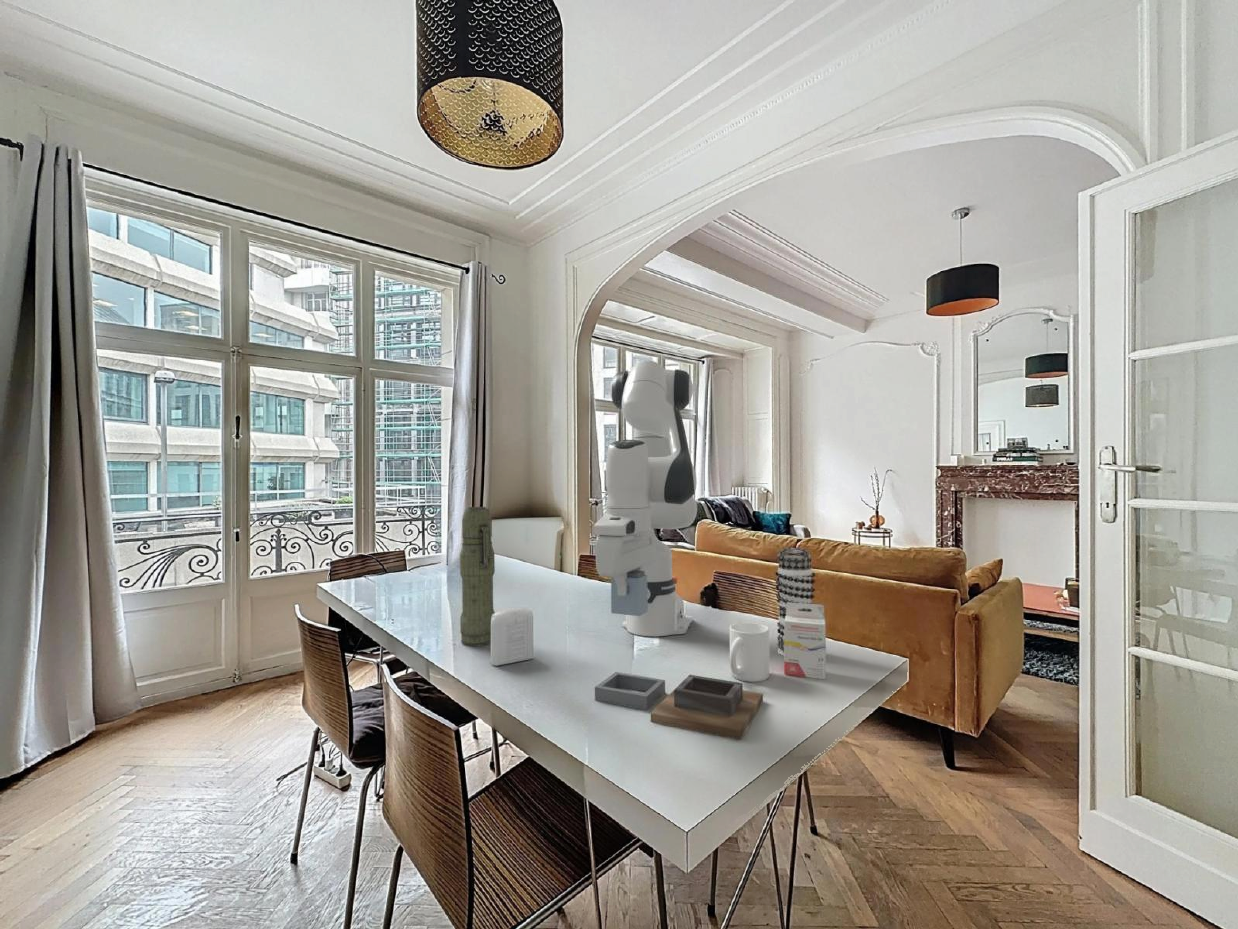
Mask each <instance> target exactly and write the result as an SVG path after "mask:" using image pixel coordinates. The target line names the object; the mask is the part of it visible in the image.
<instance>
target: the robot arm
mask: <svg viewBox="0 0 1238 929" xmlns="http://www.w3.org/2000/svg"><path fill="white" fill-rule="evenodd" d="M690 376H691V375H690V374H689V373H688V371H686V370H682V369H676V368H675V369H666V368H664V367H663V366H662V365H661V364H660V363H658V362H657V361H654V360H647V359H646V360H641V361H638V362H637V363H635V364H634V365H633V366H632V367H631V369H630V370H623V371H619V372H617V373H616V374H615V375H614V376H613V377H612V381H611V383H610V387H609V392H610V398H611V401H612V403H613V405H614V406H615V407H616V408H617V409H620V410H621V412H622V416H623V418H624V420H625V421H626V422H627V423H628V424H629V425H630V426H631V427H632V428H633V439H621V440H616V441H613V442H611V443H610V444H609V445H608V449H607V454H606V463H605V470H604V490H605V492H606V493H607V500H606V503H605V513H604V514H603V515H602V516H601V518H600V519H598V521H596V522H595V524H594V526H593V532H594V534H595V536H597V537H596V540H595V568H596V571H597V574H598V575H599V577H602V578H603V577H604V578H611V577H614V580H615V582H616V585H617V593H618V595H619V596H625V595H627V594H628V593H629V585H627V583H626V578H627V572H629V571H632V570H636V571H644V572H645V575H647V598H648V612H646V613H644V614H642V615H641V616H632V615H625V620H624V621H622V623H621V626H622V627H623V628H625V629H626V630H627V632H629V633H630V634H633V635H637V636H643V637H665V636H671V635H683V634H686V633H687V631H688V630H689V628H690V626H691V624H692V622H693V616H691V615H687V614H685V602H684V600H683V599H682V597H680V595H678V593H677V592H676V584H678V578H677V576H673V553H672V550H671V549H670V547H669V546H668V544H666V543H664V542H662V541H661V540H659V539H658V537H657V536H656V534H655V530H656V529H659V530H678V529H683V528H689V527H690V526H691V525H692V524H693V523H694V521H695V519H696V517H697V515H698V514H697V513H698V505H697V502H696V499H695V497H694V495H695V492H696V490H697V483H698V482H697V474H696V470H695V467H694V465H693V462H692V458H691V455H690V449H689V444H688V439H687V435H686V429H685V425H684V421H683V415H682V414H681V411H682V410H684V409H686V408H687V407H688V405H689V404H690V402H691V399H692V398H693V394H694V384H693V381H692V379H691V377H690ZM654 529H655V530H654ZM690 623H691V624H690ZM688 627H689V628H688Z"/></svg>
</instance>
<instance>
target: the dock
mask: <svg viewBox="0 0 1238 929" xmlns="http://www.w3.org/2000/svg"><path fill="white" fill-rule="evenodd" d="M763 702H764V693H762V692H755V691H751V690H746V689H745V690H744V689H743V682H737V681H731V680H725V679H721V678H712V677H709V676H708V677H705V676H701V675H694V674H689V675H687V677H686V678H684V679H683V680H682V681H681V682H680V683H679V684H678V686H676V687H675V688H674V690H672V691H671V692H670V693H669V694H667V696H666V697H665V698H664V699H663V700H662V701H661V702H660V703H659V704H658V705H657V706H656V707H655V708H654V709H653V710H652V711H651V712H650V722H652V723H656V724H661V725H665V726H671V727H676V728H681V729H686V730H689V731H690V730H691V731H696V732H701V733H707V734H710V735H715V736H718V737H719V736H720V737H724V738H729V739H734V740H739V741H740V740H741V739H742V737H744V734H745V733H746V731H747V729H748V728H749V726H750V724H751V723H752V721H753V719H754V718H755V715H756V714H757V712H758V711H759V709H760V708H761V705H762V704H763Z"/></svg>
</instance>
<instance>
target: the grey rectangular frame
mask: <svg viewBox="0 0 1238 929" xmlns="http://www.w3.org/2000/svg"><path fill="white" fill-rule="evenodd" d="M618 687H621V688H625V689H620V688H618ZM630 688H632V690H637V691H642V692H644V693H642V692H637V691H631V690H626V689H630ZM665 694H666V679H660V678H656V677H655V678H654V677H650V676H649V677H648V676H644V675H643V676H642V675H637V674H632V673H625V672H624V673H623V672H619V671H615V672H614V673H612V674H611V675H609V676H608V677H607V678H605V679H603V681H601V682H600V683H598V684H597V685H596V686H594V701H599V702H603V703H609V704H614V705H617V706H618V705H619V706H623V707H624V706H625V707H629V708H634V709H639V710H643V711H648V709H650V708H651V707H652V706H653V705H654V704H655V703H656V702H657V701H658V700H659V699H660V698H662V696H663V695H665Z"/></svg>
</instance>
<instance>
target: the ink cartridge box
mask: <svg viewBox="0 0 1238 929" xmlns="http://www.w3.org/2000/svg"><path fill="white" fill-rule="evenodd" d="M804 607H805V608H807V609H811V610H812V611H811V612H805V611H799V610H798V609H799V608H804ZM826 627H827V626H826V618H825V606H824V605H823V604H815V603H814V604H804V603H790V602H787V603H786V616H785V622H784V656H783V657H784V658H783V660H784V661H783V663H784V665H783V667H784V671H783V672H784V676H795V677H802V678H803V677H804V678H810V679H812V678H813V679H820V680H826V678H827V677H826V676H827V674H826V673H827V672H826V668H827V666H826V665H827V664H826V662H827V656H826V655H827V639H826V638H827V637H826V636H827V634H826V632H827V631H826Z"/></svg>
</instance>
